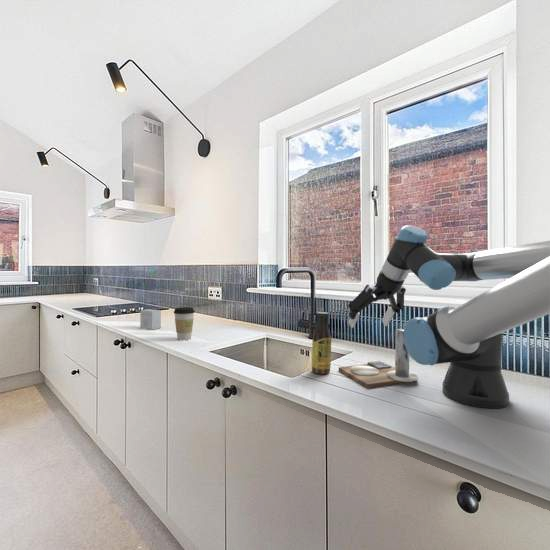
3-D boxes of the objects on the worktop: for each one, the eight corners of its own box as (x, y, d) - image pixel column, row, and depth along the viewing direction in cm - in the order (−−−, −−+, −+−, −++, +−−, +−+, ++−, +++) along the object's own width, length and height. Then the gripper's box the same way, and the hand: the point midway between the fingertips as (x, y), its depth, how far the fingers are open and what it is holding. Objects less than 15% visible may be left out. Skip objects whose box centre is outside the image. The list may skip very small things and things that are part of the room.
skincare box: (161, 328, 178) (161, 310, 178) (151, 330, 172) (151, 311, 172) (149, 326, 183) (149, 308, 183) (139, 328, 178) (139, 310, 177)
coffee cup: (197, 339, 149) (197, 308, 149) (177, 342, 143) (177, 310, 143) (190, 336, 157) (190, 306, 157) (171, 338, 152) (171, 308, 151)
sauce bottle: (318, 376, 99) (319, 314, 98) (307, 370, 104) (308, 312, 104) (335, 373, 102) (335, 313, 101) (323, 367, 107) (324, 310, 107)
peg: (412, 376, 94) (412, 331, 94) (401, 378, 93) (401, 331, 93) (402, 372, 98) (403, 328, 98) (392, 373, 97) (392, 329, 96)
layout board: (424, 383, 93) (424, 377, 93) (373, 391, 87) (373, 384, 87) (384, 365, 110) (384, 359, 110) (338, 370, 104) (338, 365, 104)
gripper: (418, 267, 101) (392, 315, 113) (352, 266, 93) (331, 317, 105) (433, 281, 95) (403, 330, 107) (363, 281, 87) (340, 334, 99)
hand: (367, 324), depth 106 cm, fingers open, 13 cm apart
